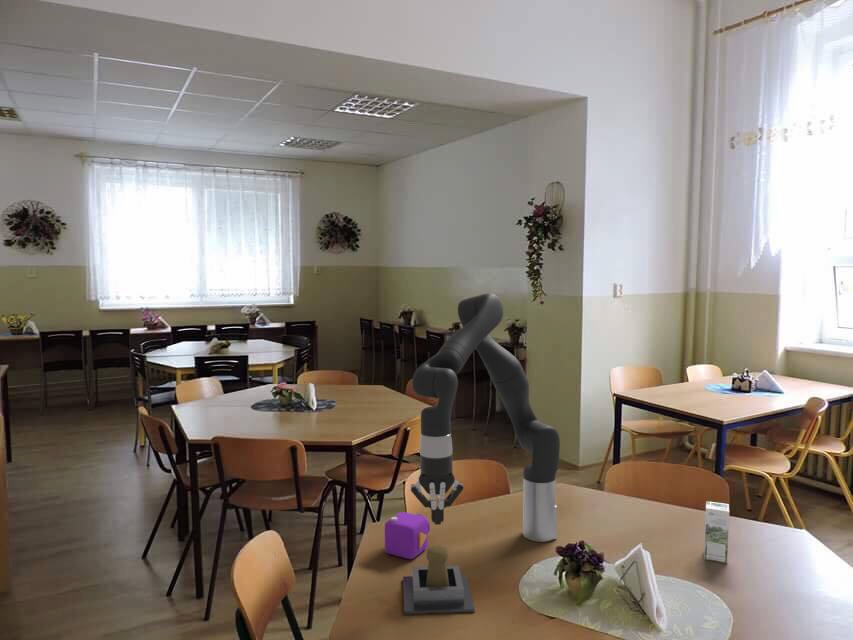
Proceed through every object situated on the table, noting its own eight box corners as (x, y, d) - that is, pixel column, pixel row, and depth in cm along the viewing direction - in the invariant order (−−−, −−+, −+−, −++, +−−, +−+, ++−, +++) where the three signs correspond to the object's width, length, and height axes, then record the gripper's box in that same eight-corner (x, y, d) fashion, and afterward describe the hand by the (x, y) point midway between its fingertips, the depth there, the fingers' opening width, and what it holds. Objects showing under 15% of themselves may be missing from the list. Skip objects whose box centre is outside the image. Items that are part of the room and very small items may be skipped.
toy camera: (435, 541, 179) (434, 507, 179) (419, 563, 167) (418, 526, 166) (399, 536, 183) (399, 503, 182) (381, 557, 170) (381, 521, 169)
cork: (451, 585, 153) (450, 542, 152) (449, 598, 147) (449, 553, 146) (426, 584, 154) (426, 541, 153) (423, 597, 148) (423, 552, 147)
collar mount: (466, 577, 159) (466, 561, 158) (474, 612, 143) (474, 594, 142) (403, 579, 158) (402, 563, 157) (404, 614, 142) (404, 596, 141)
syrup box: (727, 555, 170) (729, 503, 168) (727, 564, 164) (729, 510, 163) (704, 551, 172) (705, 499, 171) (703, 560, 167) (705, 507, 166)
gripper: (462, 446, 151) (463, 515, 153) (407, 448, 150) (409, 518, 152) (466, 455, 144) (467, 528, 145) (408, 457, 143) (410, 531, 144)
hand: (437, 523), depth 148 cm, fingers closed
